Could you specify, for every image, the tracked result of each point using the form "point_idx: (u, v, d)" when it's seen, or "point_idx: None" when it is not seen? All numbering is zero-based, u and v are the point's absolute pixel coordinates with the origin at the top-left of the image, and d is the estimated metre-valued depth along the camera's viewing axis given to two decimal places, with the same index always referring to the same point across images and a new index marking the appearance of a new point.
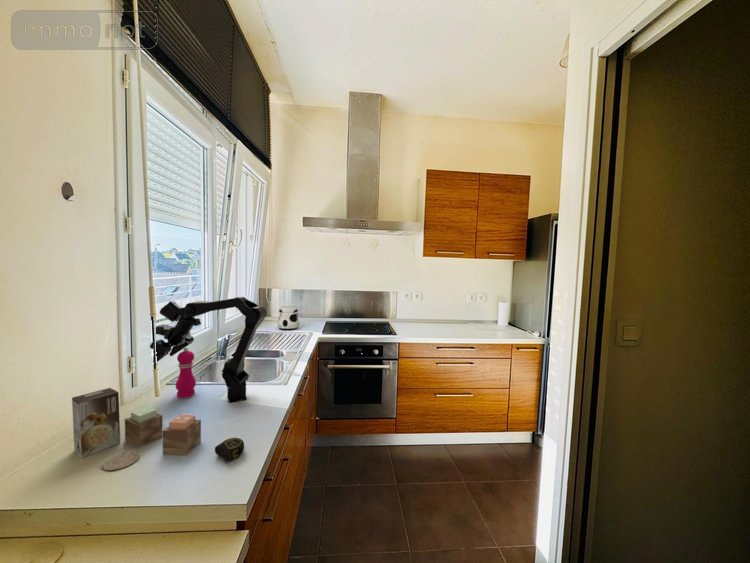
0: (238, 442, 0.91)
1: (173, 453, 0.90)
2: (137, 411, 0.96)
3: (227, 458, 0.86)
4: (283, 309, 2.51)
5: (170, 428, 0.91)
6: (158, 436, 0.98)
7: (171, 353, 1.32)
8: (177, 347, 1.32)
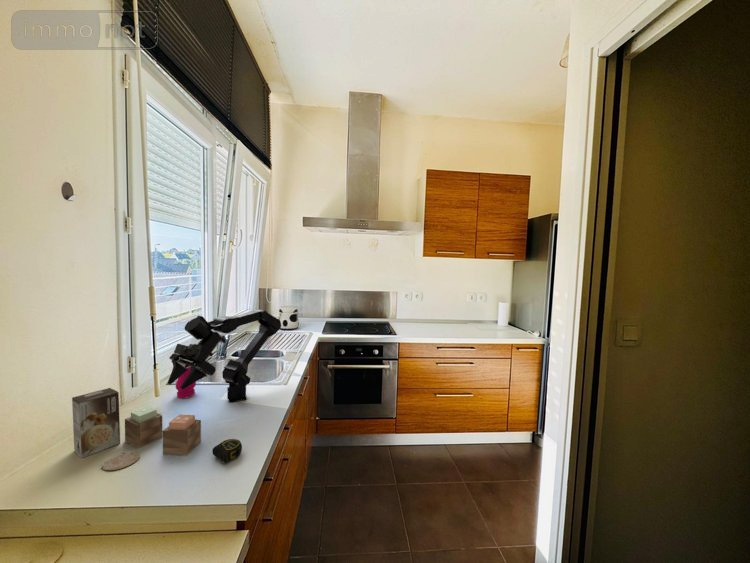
0: (235, 443, 0.91)
1: (173, 453, 0.90)
2: (137, 411, 0.96)
3: (224, 459, 0.86)
4: (283, 309, 2.51)
5: (170, 428, 0.91)
6: (158, 436, 0.98)
7: (171, 380, 1.07)
8: (178, 372, 1.10)
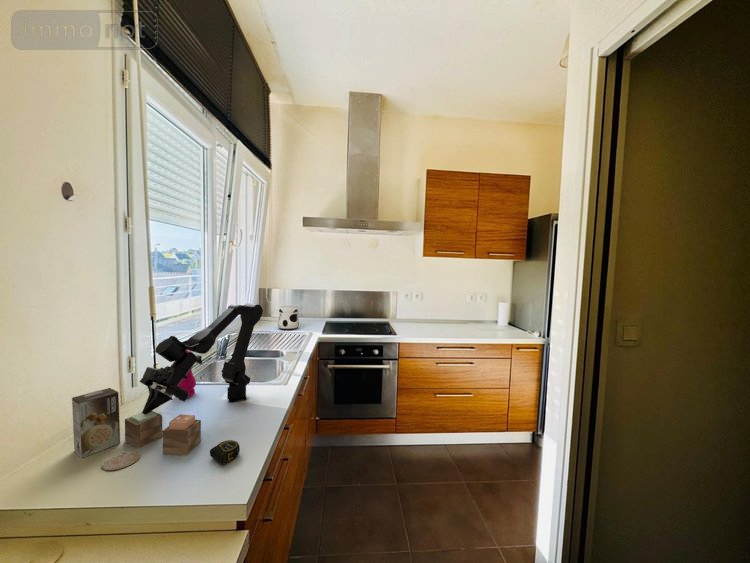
0: (233, 444, 0.90)
1: (173, 453, 0.90)
2: (137, 415, 0.96)
3: (222, 461, 0.85)
4: (283, 309, 2.51)
5: (170, 428, 0.91)
6: (158, 436, 0.98)
7: None
8: None
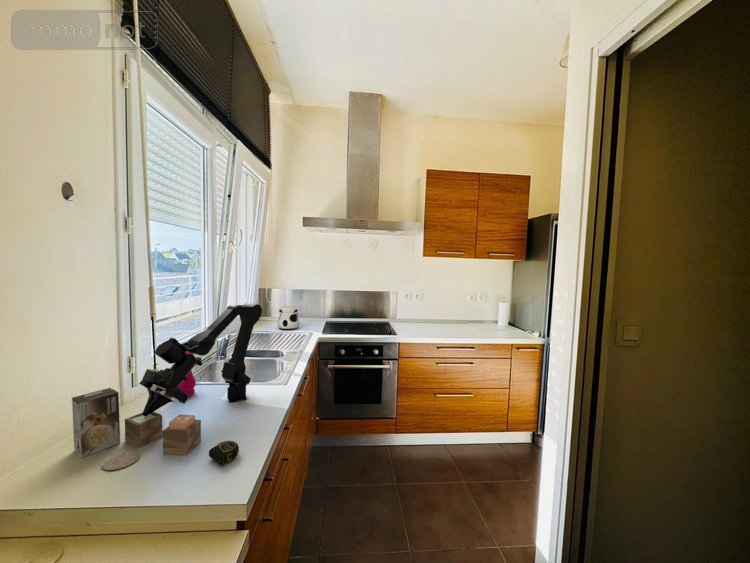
0: (232, 445, 0.90)
1: (173, 453, 0.90)
2: (137, 418, 0.96)
3: (221, 462, 0.85)
4: (283, 309, 2.51)
5: (170, 428, 0.91)
6: (158, 436, 0.98)
7: None
8: None
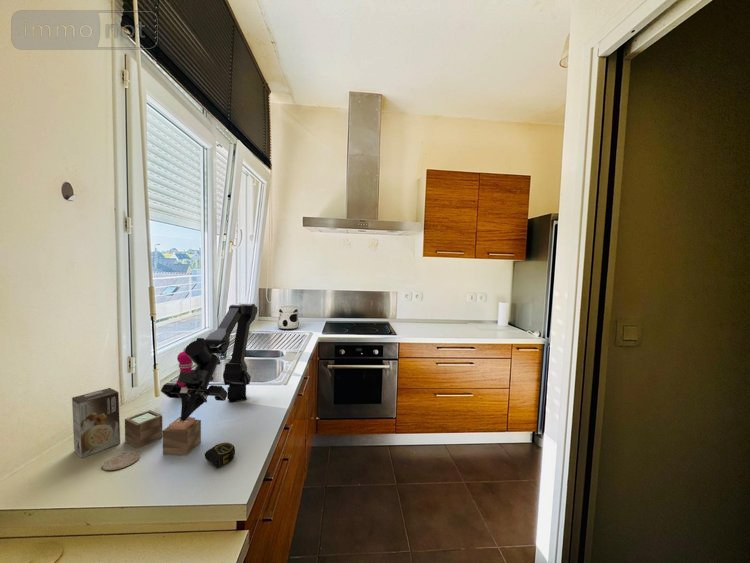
0: (228, 447, 0.89)
1: (173, 453, 0.90)
2: (137, 418, 0.96)
3: (217, 464, 0.84)
4: (283, 309, 2.51)
5: None
6: (158, 436, 0.98)
7: None
8: None
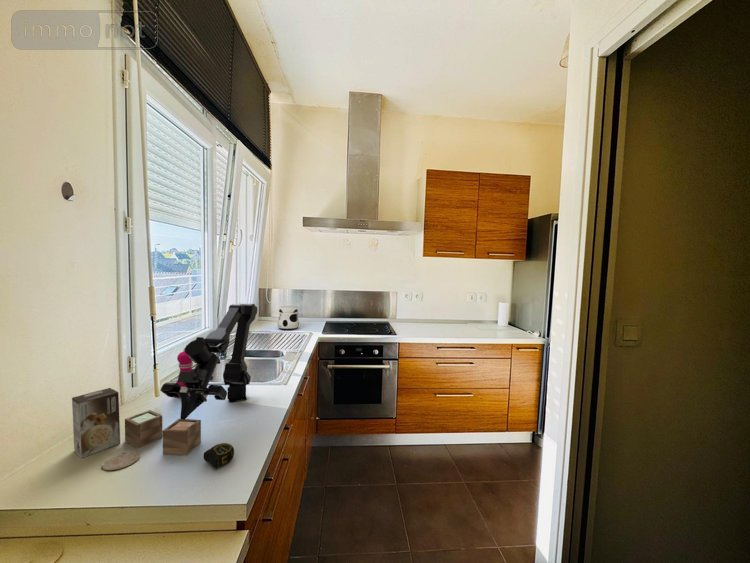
0: (227, 447, 0.89)
1: (173, 453, 0.90)
2: (137, 418, 0.96)
3: (216, 465, 0.83)
4: (283, 309, 2.51)
5: None
6: (158, 436, 0.98)
7: None
8: None
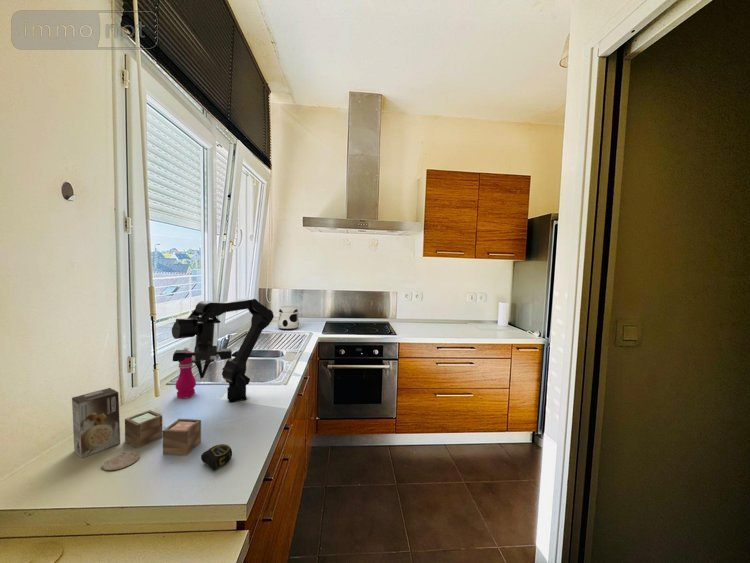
0: (225, 448, 0.88)
1: (173, 453, 0.90)
2: (137, 418, 0.96)
3: (213, 466, 0.83)
4: (283, 309, 2.51)
5: None
6: (158, 436, 0.98)
7: None
8: (201, 365, 1.15)
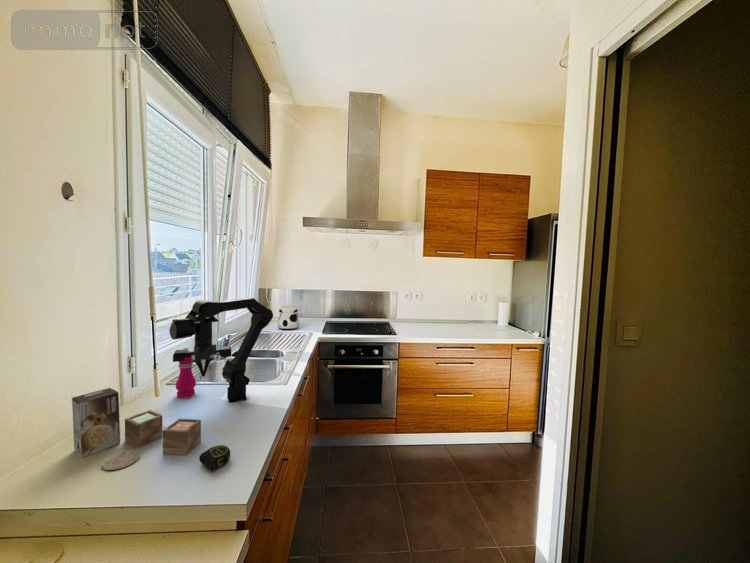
0: (223, 449, 0.88)
1: (173, 453, 0.90)
2: (137, 418, 0.96)
3: (211, 467, 0.82)
4: (283, 309, 2.51)
5: None
6: (158, 436, 0.98)
7: None
8: (202, 363, 1.16)
